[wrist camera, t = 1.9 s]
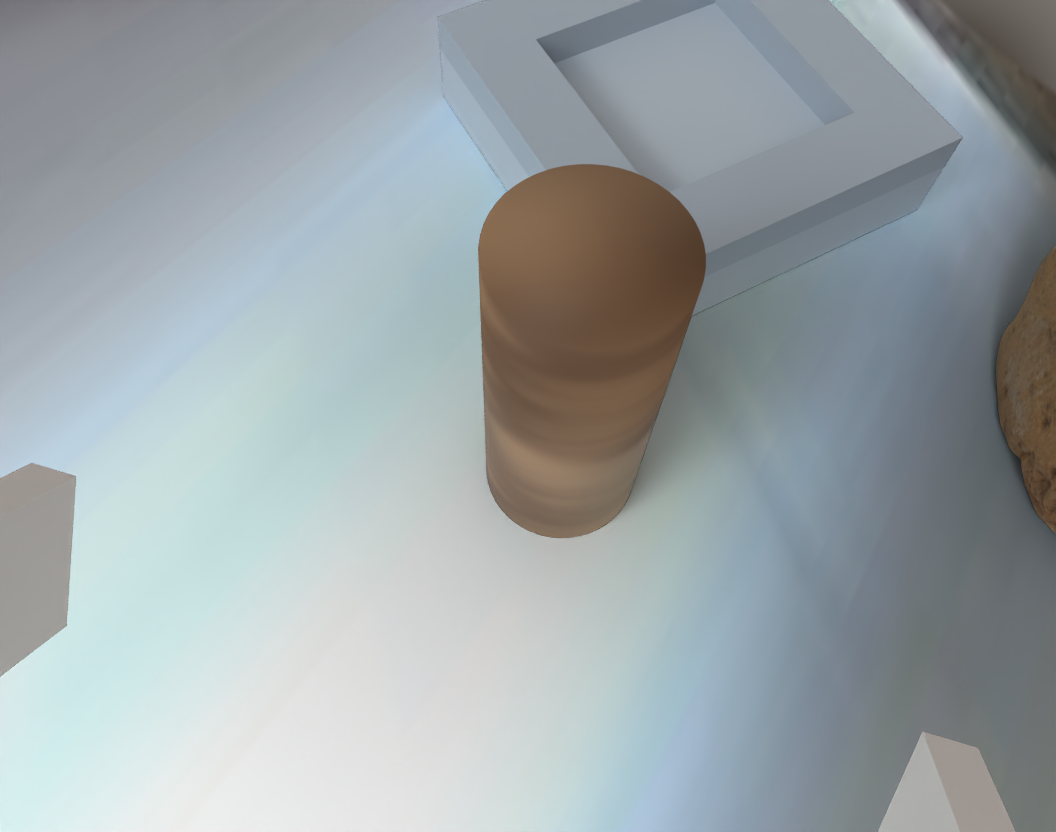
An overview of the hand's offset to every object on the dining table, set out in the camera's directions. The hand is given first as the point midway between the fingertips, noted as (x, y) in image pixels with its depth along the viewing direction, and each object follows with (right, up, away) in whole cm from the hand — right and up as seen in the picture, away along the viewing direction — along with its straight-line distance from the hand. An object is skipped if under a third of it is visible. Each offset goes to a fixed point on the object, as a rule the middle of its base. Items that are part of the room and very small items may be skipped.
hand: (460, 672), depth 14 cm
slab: (+7, +15, +23) cm, 28 cm away
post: (+2, +2, +17) cm, 17 cm away
